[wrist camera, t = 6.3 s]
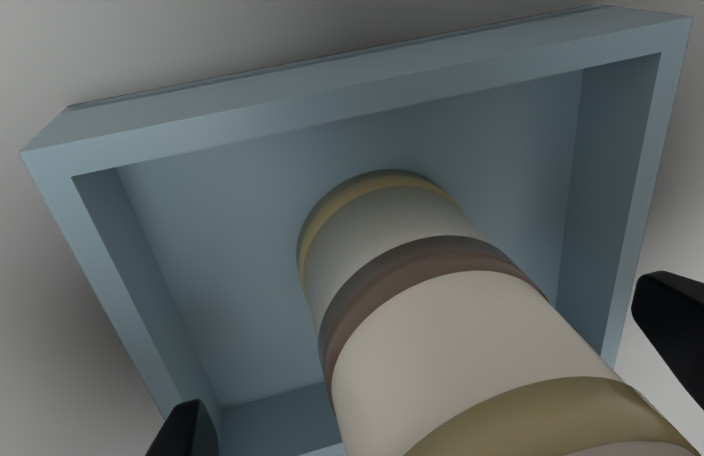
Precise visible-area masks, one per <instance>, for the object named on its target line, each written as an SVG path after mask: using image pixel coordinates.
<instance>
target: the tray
mask: <svg viewBox="0 0 704 456" xmlns="http://www.w3.org/2000/svg"><path fill="white" fill-rule="evenodd" d="M692 20H693V16H686V15H678V14H670V13H662V12H654V11H646V10H638V9H630V8H622V7H614V6H606V5H598V4H595V5H590V6H585V7H579V8H574V9H569V10H564V11H559V12H553V13H548V14H543V15H538V16H533V17H528V18H522V19H517V20H512V21H507V22H502V23H496V24H491V25H486V26H481V27H476V28H470V29H465V30H460V31H455V32H450V33H445V34H439V35H434V36H429V37H424V38H419V39H413V40H408V41H403V42H398V43H393V44H388V45H382V46H377V47H372V48H367V49H362V50H356V51H351V52H346V53H341V54H336V55H330V56H325V57H320V58H315V59H310V60H305V61H299V62H294V63H289V64H284V65H279V66H273V67H268V68H263V69H258V70H253V71H247V72H242V73H237V74H232V75H227V76H222V77H216V78H211V79H206V80H201V81H196V82H190V83H185V84H180V85H175V86H170V87H164V88H159V89H154V90H149V91H144V92H139V93H133V94H128V95H123V96H118V97H113V98H107V99H102V100H97V101H92V102H87V103H81V104H76V105H71V106H68V107H67V108H66V109H64V110H63V111H62V112H61V113H60V114H59V115H58V116H57V117H56V118H55V119H54V120H53V121H52V122H51V123H49V124H48V125H47V126H46V127H45V128H44V129H43V130H42V131H41V132H40V133H39V134H38V135H37V136H36V137H34V138H33V139H32V140H31V141H30V142H29V143H28V144H27V145H26V146H25V147H24V148H23V149H22V150H21V151H19V152H18V154H19V155H20V157H21V159H22V161H23V163H24V165H25V166H26V168H27V170H28V172H29V174H30V176H31V177H32V179H33V181H34V183H35V185H36V186H37V188H38V190H39V192H40V194H41V196H42V197H43V199H44V201H45V203H46V205H47V207H48V208H49V210H50V212H51V214H52V216H53V217H54V219H55V221H56V223H57V225H58V227H59V228H60V230H61V232H62V234H63V236H64V238H65V239H66V241H67V243H68V245H69V247H70V248H71V250H72V252H73V254H74V256H75V258H76V259H77V261H78V263H79V265H80V267H81V269H82V270H83V272H84V274H85V276H86V278H87V279H88V281H89V283H90V285H91V287H92V289H93V290H94V292H95V294H96V296H97V298H98V300H99V301H100V303H101V305H102V307H103V309H104V310H105V312H106V314H107V316H108V318H109V320H110V321H111V323H112V325H113V327H114V329H115V331H116V332H117V334H118V336H119V338H120V340H121V341H122V343H123V345H124V347H125V349H126V351H127V352H128V354H129V356H130V358H131V360H132V362H133V363H134V365H135V367H136V369H137V371H138V372H139V374H140V376H141V378H142V380H143V382H144V383H145V385H146V387H147V389H148V391H149V393H150V394H151V396H152V398H153V400H154V402H155V403H156V405H157V407H158V409H159V411H160V413H161V414H162V416H163V418H164V420H165V421H166V419H167V417H168V416H169V414H170V412H171V411H172V409H173V408H174V407H175V406H176V405H177V404H179V403H182V402H186V401H189V400H193V399H201V400H202V401H203V403H204V405H205V407H206V409H207V411H208V413H209V415H210V417H211V420H212V422H213V424H214V426H215V429H216V432H217V437H218V445H219V456H341V455H345V450H344V446H343V442H342V437H341V433H340V429H339V425H338V421H337V418H336V417H335V415H334V413H333V411H332V408H331V405H330V402H329V397H328V393H327V389H326V385H325V381H324V377H323V372H322V368H321V364H320V360H319V354H318V340H317V336H316V332H315V328H314V324H313V320H312V316H311V312H310V308H309V304H308V302H307V300H306V298H305V295H304V292H303V289H302V285H301V281H300V277H299V272H298V268H297V262H296V247H297V241H298V237H299V234H300V230H301V228H302V226H303V224H304V221H305V219H306V218H307V216H308V215H309V213H310V211H311V210H312V209H313V208H314V206H315V205H316V204H317V203H318V201H319V200H320V199H322V198H323V197H324V196H325V195H326V194H327V193H328V192H329V191H331V190H332V189H333V188H335V187H336V186H338V185H339V184H341V183H343V182H344V181H346V180H348V179H350V178H353V177H355V176H357V175H360V174H364V173H367V172H370V171H377V170H385V169H397V170H406V171H410V172H415V173H417V174H420V175H423V176H425V177H427V178H429V179H430V180H432V181H434V182H435V183H436V184H437V185H439V186H440V187H441V188H442V189H443V190H444V191H445V192H446V193H447V194H448V195H449V196H450V197H451V198H452V199H453V200H454V201H455V202H456V203H457V204H458V206H459V207H460V208H461V209H462V210H463V212H464V213H465V215H466V217H467V218H468V219H469V220H470V221H471V222H472V223H473V224H474V225H475V226H476V227H477V229H478V230H479V231H480V232H481V233H482V234H483V235H484V236H485V237H486V238H487V239H488V240H489V241H490V242H491V243H492V244H493V245H494V246H495V247H497V248H498V249H500V250H501V251H502V252H504V253H505V254H506V255H507V256H508V257H509V258H510V259H511V260H512V261H513V262H514V263H515V264H516V265H517V266H518V267H519V268H520V269H521V270H522V271H523V272H524V273H525V274H526V275H527V276H528V277H529V278H530V279H531V280H532V281H533V282H534V284H535V285H536V286H537V287H538V288H539V289H540V290H541V291H542V292H543V293H544V294H545V296H546V297H547V299H548V301H549V302H550V304H551V306H552V307H553V308H554V309H555V310H556V311H557V312H558V313H559V314H560V315H561V316H562V317H563V318H564V319H565V320H566V321H567V322H568V323H569V325H570V326H571V327H572V328H573V329H574V330H575V331H576V332H577V333H578V334H579V335H580V336H581V337H582V338H583V339H584V340H585V341H586V342H587V343H588V344H589V345H590V346H591V347H592V349H593V350H594V351H595V352H596V353H597V354H598V355H599V356H600V357H601V358H602V359H603V360H604V361H605V362H606V363H607V364H608V365H609V366H610V367H611V368H612V369H614V365H615V361H616V356H617V352H618V347H619V343H620V338H621V334H622V330H623V325H624V321H625V316H626V312H627V307H628V303H629V299H630V294H631V290H632V285H633V281H634V277H635V272H636V268H637V263H638V259H639V254H640V250H641V246H642V241H643V237H644V232H645V228H646V223H647V219H648V215H649V210H650V206H651V201H652V197H653V192H654V188H655V184H656V179H657V175H658V170H659V166H660V162H661V157H662V153H663V148H664V144H665V139H666V135H667V131H668V126H669V122H670V117H671V113H672V108H673V104H674V100H675V95H676V91H677V86H678V82H679V77H680V73H681V69H682V64H683V60H684V55H685V51H686V47H687V42H688V38H689V33H690V29H691V24H692Z"/></svg>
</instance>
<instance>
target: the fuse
mask: <svg viewBox="0 0 704 456" xmlns="http://www.w3.org/2000/svg"><path fill="white" fill-rule="evenodd" d="M296 262H297V268H298V272H299V277H300V281H301V285H302V289H303V292H304V295H305V298H306V300H307V302H308V304H309V308H310V312H311V316H312V320H313V324H314V328H315V332H316V336H317V340H318V354H319V360H320V364H321V368H322V372H323V377H324V381H325V385H326V389H327V393H328V397H329V402H330V405H331V408H332V411H333V413H334V415H335V417H336V418H337V421H338V425H339V429H340V433H341V437H342V442H343V446H344V450H345V454H346V456H701V455H700V454H699V452H698V451H697V450H696V449H695V448H694V447H693V446H692V445H691V444H690V443H689V442H688V441H687V440H686V439H685V438H684V437H683V436H682V435H681V434H680V433H679V432H678V431H677V430H676V429H675V428H674V427H673V426H672V424H671V423H670V422H669V421H668V420H667V419H666V418H665V417H664V416H663V415H662V414H661V413H660V412H659V411H658V410H657V409H656V408H655V407H654V406H653V405H652V404H651V403H650V402H649V401H648V400H647V399H646V398H645V397H644V396H643V395H642V394H641V393H640V392H639V391H637V390H636V389H634V388H633V387H631V386H629V385H627V384H626V383H625V382H624V381H623V380H622V379H621V378H620V377H619V376H618V375H617V374H616V373H615V372H614V370H613V369H612V368H611V367H610V366H609V365H608V364H607V363H606V362H605V361H604V360H603V359H602V358H601V357H600V356H599V355H598V354H597V353H596V352H595V351H594V350H593V349H592V347H591V346H590V345H589V344H588V343H587V342H586V341H585V340H584V339H583V338H582V337H581V336H580V335H579V334H578V333H577V332H576V331H575V330H574V329H573V328H572V327H571V326H570V325H569V323H568V322H567V321H566V320H565V319H564V318H563V317H562V316H561V315H560V314H559V313H558V312H557V311H556V310H555V309H554V308H553V307H552V306H551V304H550V302H549V301H548V299H547V297H546V296H545V294H544V293H543V292H542V291H541V290H540V289H539V288H538V287H537V286H536V285H535V284H534V282H533V281H532V280H531V279H530V278H529V277H528V276H527V275H526V274H525V273H524V272H523V271H522V270H521V269H520V268H519V267H518V266H517V265H516V264H515V263H514V262H513V261H512V260H511V259H510V258H509V257H508V256H507V255H506V254H505V253H504V252H502V251H501V250H500V249H498V248H497V247H495V246H494V245H493V244H492V243H491V242H490V241H489V240H488V239H487V238H486V237H485V236H484V235H483V234H482V233H481V232H480V231H479V230H478V229H477V227H476V226H475V225H474V224H473V223H472V222H471V221H470V220H469V219H468V218H467V217H466V215H465V213H464V212H463V210H462V209H461V208H460V207H459V206H458V204H457V203H456V202H455V201H454V200H453V199H452V198H451V197H450V196H449V195H448V194H447V193H446V192H445V191H444V190H443V189H442V188H441V187H440V186H439V185H437V184H436V183H435V182H434V181H432V180H430V179H429V178H427V177H425V176H423V175H420V174H417V173H415V172H410V171H406V170H397V169H385V170H377V171H370V172H367V173H364V174H360V175H357V176H355V177H353V178H350V179H348V180H346V181H344V182H343V183H341V184H339V185H338V186H336V187H335V188H333V189H332V190H331V191H329V192H328V193H327V194H326V195H325V196H324V197H323V198H322V199H320V200H319V201H318V203H317V204H316V205H315V206H314V208H313V209H312V210H311V211H310V213H309V215H308V216H307V218H306V219H305V221H304V224H303V226H302V228H301V230H300V234H299V237H298V241H297V247H296Z"/></svg>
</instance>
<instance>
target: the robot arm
mask: <svg viewBox="0 0 704 456" xmlns="http://www.w3.org/2000/svg"><path fill="white" fill-rule="evenodd" d="M631 312H632V316H633V318H634V320H635V322H636V323H637V324H638V326H639V327H640V328H641V330H642V331H643V333H644V334H645V335H646V337H647V338H648V339H649V341H650V342H651V344H652V345H653V346H654V348H655V349H656V350H657V352H658V353H659V355H660V356H661V357H662V359H663V360H664V361H665V363H666V364H667V365H668V367H669V368H670V370H671V371H672V372H673V374H674V375H675V376H676V378H677V379H678V380H679V382H680V383H681V384H682V386H683V387H684V388H685V389H686V391H687V392H688V393H689V394H690V395H691V397H692V398H693V399H694V400H695V401H696V402H697V404H698V405H699V406H700V407H701V408H702V409H703V410H704V283H701V282H698V281H695V280H692V279H689V278H686V277H682V276H679V275H676V274H673V273H670V272H666V271H656V272H652V273H649V274H645V275H642V276H641V277H640V278H639V279H638V281H637V284H636V289H635V293H634V297H633V302H632V306H631ZM145 456H219V445H218V437H217V432H216V429H215V426H214V424H213V422H212V420H211V417H210V415H209V413H208V411H207V409H206V407H205V405H204V403H203V401H202V400H201V399H193V400H189V401H186V402H182V403H179V404H177V405H176V406H175V407H174V408H173V409H172V411H171V412H170V414H169V416H168V417H167V419H166V421H165V422H164V424H163V426H162V428H161V429H160V431H159V433H158V434H157V436H156V438H155V439H154V441H153V443H152V444H151V446H150V448H149V450H148V451H147V453H146V455H145Z"/></svg>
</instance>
